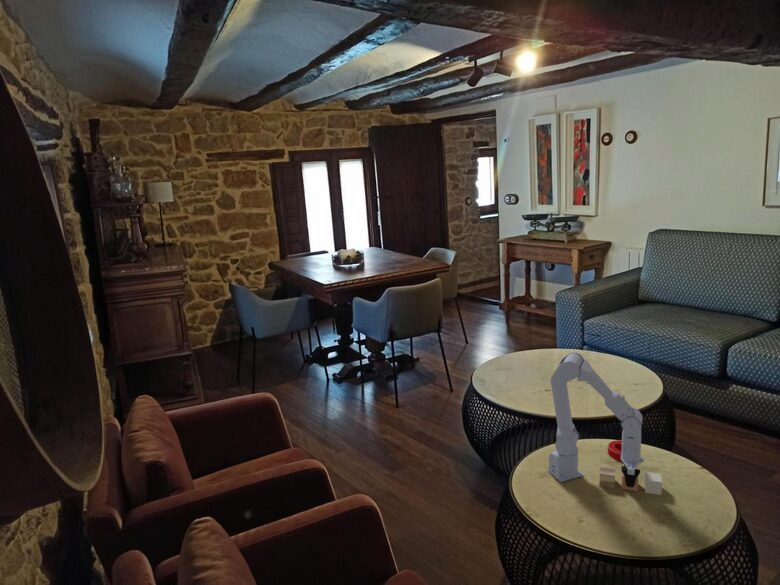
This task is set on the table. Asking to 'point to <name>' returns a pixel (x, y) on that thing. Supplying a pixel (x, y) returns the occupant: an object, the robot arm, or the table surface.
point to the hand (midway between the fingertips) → (629, 481)
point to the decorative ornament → (615, 449)
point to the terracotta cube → (629, 487)
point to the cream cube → (653, 483)
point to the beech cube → (607, 476)
